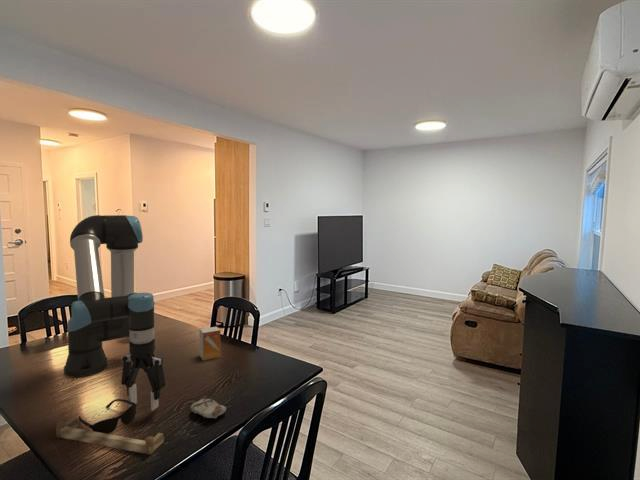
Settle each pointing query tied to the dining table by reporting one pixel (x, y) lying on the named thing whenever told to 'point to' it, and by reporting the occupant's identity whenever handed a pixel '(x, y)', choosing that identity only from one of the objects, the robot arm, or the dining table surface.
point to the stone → (208, 408)
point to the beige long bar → (108, 438)
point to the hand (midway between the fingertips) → (143, 406)
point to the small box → (209, 343)
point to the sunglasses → (113, 419)
